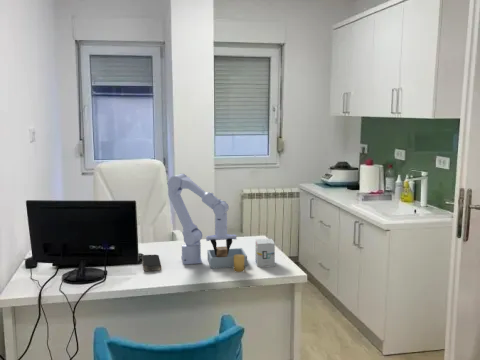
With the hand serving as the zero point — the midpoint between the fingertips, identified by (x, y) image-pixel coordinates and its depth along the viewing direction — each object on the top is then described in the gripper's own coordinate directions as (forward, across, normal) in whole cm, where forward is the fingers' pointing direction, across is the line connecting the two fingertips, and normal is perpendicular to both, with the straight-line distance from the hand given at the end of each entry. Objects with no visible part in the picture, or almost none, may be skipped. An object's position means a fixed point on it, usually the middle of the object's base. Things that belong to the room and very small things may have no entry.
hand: (221, 254), depth 237 cm
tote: (+5, +3, +2) cm, 6 cm away
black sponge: (+6, -34, +4) cm, 34 cm away
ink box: (+6, +21, -3) cm, 22 cm away
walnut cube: (+2, 0, 0) cm, 2 cm away
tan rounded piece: (+5, +7, -10) cm, 13 cm away
